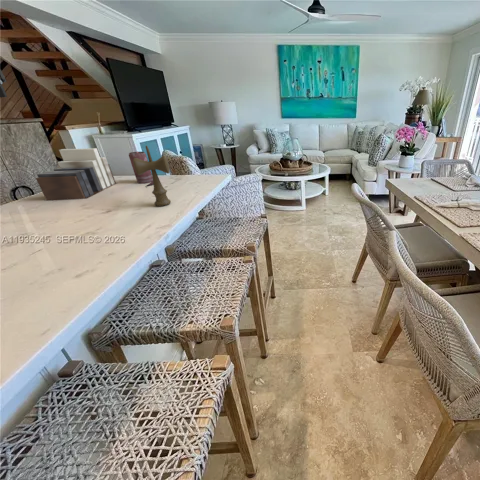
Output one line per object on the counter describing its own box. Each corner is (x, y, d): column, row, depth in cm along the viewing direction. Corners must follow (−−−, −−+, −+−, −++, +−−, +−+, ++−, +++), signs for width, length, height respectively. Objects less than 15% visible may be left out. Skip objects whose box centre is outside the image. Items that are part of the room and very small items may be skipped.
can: (152, 182, 121) (143, 150, 115) (155, 185, 117) (146, 152, 110) (137, 184, 118) (126, 152, 111) (139, 187, 113) (129, 153, 107)
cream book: (75, 188, 108) (58, 149, 101) (79, 186, 110) (62, 149, 103) (107, 186, 109) (93, 149, 102) (110, 185, 111) (96, 148, 104)
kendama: (177, 205, 93) (162, 145, 84) (146, 209, 90) (126, 147, 81) (178, 200, 98) (164, 143, 89) (149, 203, 95) (130, 145, 86)
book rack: (45, 204, 94) (27, 169, 89) (84, 187, 114) (71, 157, 108) (88, 202, 96) (73, 167, 91) (119, 186, 116) (109, 156, 110)
